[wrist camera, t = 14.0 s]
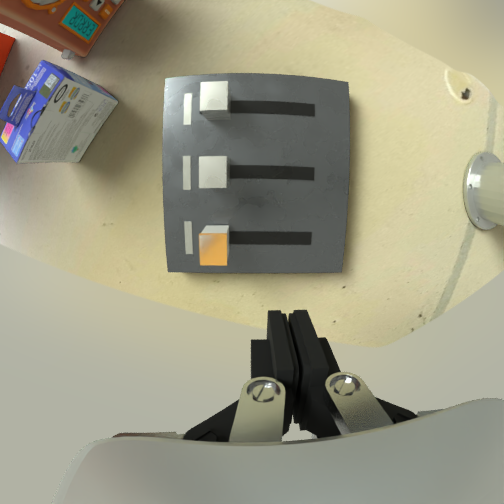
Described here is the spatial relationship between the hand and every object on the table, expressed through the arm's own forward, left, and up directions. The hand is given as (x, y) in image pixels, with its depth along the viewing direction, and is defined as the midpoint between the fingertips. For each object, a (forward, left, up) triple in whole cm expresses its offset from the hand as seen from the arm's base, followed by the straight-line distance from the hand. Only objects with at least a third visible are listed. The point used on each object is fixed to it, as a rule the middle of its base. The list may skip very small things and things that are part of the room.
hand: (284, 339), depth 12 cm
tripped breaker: (+5, 0, -19) cm, 19 cm away
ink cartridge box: (+23, -15, -22) cm, 35 cm away
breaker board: (+1, -7, -22) cm, 23 cm away
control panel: (+24, -32, -22) cm, 45 cm away
